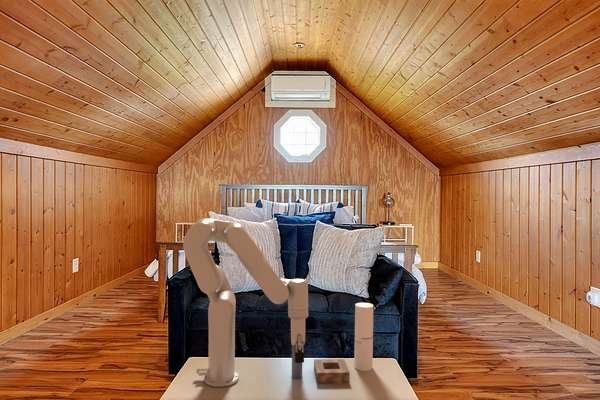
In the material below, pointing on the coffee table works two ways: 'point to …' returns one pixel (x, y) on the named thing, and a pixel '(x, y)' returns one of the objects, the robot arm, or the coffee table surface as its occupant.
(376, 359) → the coffee table surface
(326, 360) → the socket block
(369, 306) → the cylindrical container
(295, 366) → the peg
